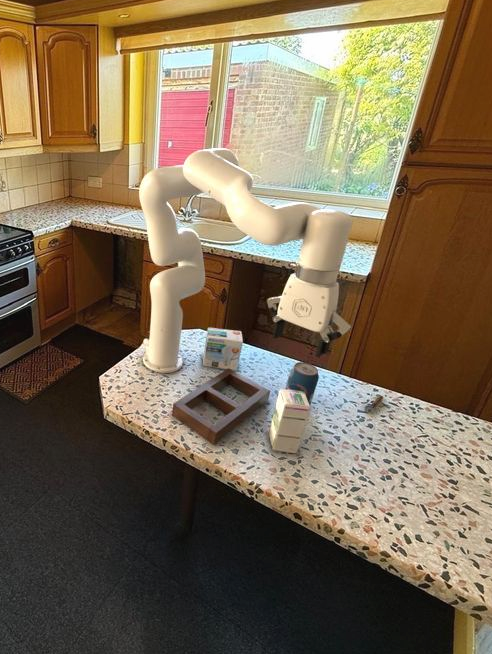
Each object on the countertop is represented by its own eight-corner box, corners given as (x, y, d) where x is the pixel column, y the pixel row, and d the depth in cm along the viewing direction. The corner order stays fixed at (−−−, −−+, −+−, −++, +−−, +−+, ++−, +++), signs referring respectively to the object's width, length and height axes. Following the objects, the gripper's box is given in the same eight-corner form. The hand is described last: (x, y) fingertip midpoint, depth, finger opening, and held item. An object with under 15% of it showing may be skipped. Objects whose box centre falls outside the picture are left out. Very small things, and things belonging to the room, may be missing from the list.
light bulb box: (202, 366, 127) (207, 337, 122) (202, 354, 132) (207, 326, 127) (237, 371, 124) (243, 342, 119) (236, 359, 130) (242, 330, 125)
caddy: (171, 415, 107) (173, 403, 105) (226, 378, 121) (228, 368, 119) (213, 445, 97) (216, 433, 96) (267, 402, 112) (270, 390, 110)
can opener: (378, 397, 113) (379, 394, 113) (387, 402, 111) (388, 399, 111) (361, 409, 109) (362, 406, 108) (370, 414, 107) (372, 411, 107)
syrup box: (297, 454, 95) (312, 407, 88) (271, 450, 96) (284, 403, 89) (291, 436, 100) (306, 391, 93) (267, 433, 101) (279, 387, 94)
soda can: (277, 402, 111) (287, 367, 106) (289, 392, 115) (298, 357, 110) (302, 415, 107) (314, 379, 101) (313, 404, 111) (325, 369, 105)
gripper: (266, 265, 84) (253, 335, 92) (355, 291, 72) (330, 369, 80) (284, 258, 88) (270, 325, 96) (371, 281, 76) (346, 356, 84)
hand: (297, 345), depth 88 cm, fingers open, 9 cm apart
